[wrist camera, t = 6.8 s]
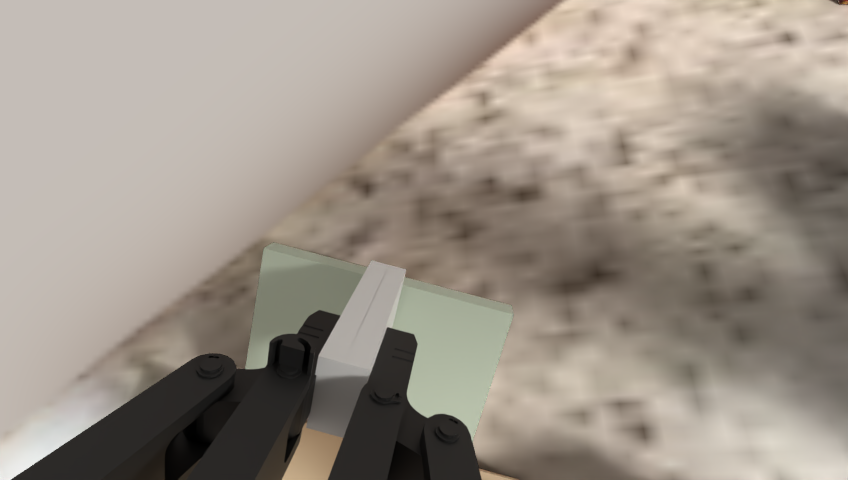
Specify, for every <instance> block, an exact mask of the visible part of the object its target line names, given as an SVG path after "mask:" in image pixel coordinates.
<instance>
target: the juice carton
mask: <svg viewBox="0 0 848 480" xmlns="http://www.w3.org/2000/svg"><path fill="white" fill-rule="evenodd" d="M838 2H839V4H840V5H848V0H838Z"/></svg>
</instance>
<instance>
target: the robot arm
mask: <svg viewBox="0 0 848 480" xmlns="http://www.w3.org/2000/svg"><path fill="white" fill-rule="evenodd" d="M405 273H406V269H403V268H399V267H396V266H392V265H388V264H384V263H380V262H377V261H373V260H371V262H370V264H369V266H368V267H367V269H366V271H365V273H364V275H363V276H362V278H361V280H360V282H359V284H358V285H357V287H356V289H355V291H354V293H353V294H352V296H351V298H350V300H349V302H348V303H347V305H346V307H345V309H344V311H343V312H342V314H341V316H340V315H337V314H333V313H329V312H325V311H322V310H318V311H316V312H315V313H313V314H311V315H309V316H308V318H307V319H306V321H305V322H304V324H303V326H301V328H300V329H299V331H298V333H297V334H282V335H280V336H277V337H275V338H274V339H272V340H271V341H270V343H269V352H268V361H267V365H266V367H265V368H260V369H236V365H235V363H234V361H233V360H232V359H231V358H229V357H228V356H225V355H222V354H205V355H200V356H198V357H196V358H194V359H192V360H190V361H189V362H187V363H186V364H184V365H183V366H181V367H180V368H178V369H177V370H175V371H174V372H172V373H171V374H169V375H168V376H166V377H165V378H163V379H162V380H160V381H159V382H157V383H156V384H154V385H153V386H151V387H150V388H148V389H147V390H145V391H144V392H142V393H141V394H139V395H138V396H136V397H135V398H133V399H132V400H130V401H129V402H127V403H126V404H124V405H123V406H121V407H120V408H118V409H117V410H115V411H114V412H112V413H111V414H109V415H108V416H106V417H105V418H103V419H101V420H100V421H98V422H97V423H95V424H94V425H92V426H91V427H89V428H88V429H86V430H85V431H83V432H82V433H80V434H79V435H77V436H76V437H74V438H73V439H71V440H70V441H68V442H67V443H65V444H64V445H62V446H61V447H59V448H58V449H56V450H55V451H53V452H52V453H50V454H49V455H47V456H46V457H44V458H43V459H41V460H40V461H38V462H37V463H35V464H34V465H32V466H31V467H29V468H28V469H26V470H25V471H23V472H22V473H20V474H19V475H17V476H16V477H14V478H13V479H11V480H282V478H283V476H284V474H285V472H286V470H287V468H288V466H289V464H290V462H291V459H292V457H293V455H294V453H295V451H296V449H297V447H298V445H299V443H300V439H301V434H302V428H303V426H304V424H305V422H306V420H307V418H308V420H307V426H306V428H309V429H312V430H316V431H320V432H323V433H327V434H331V435H334V436H338V437H342V438H343V440H342V443H341V445H340V448H339V451H338V453H337V456H336V459H335V461H334V464H333V467H332V469H331V472H330V475H329V477H328V480H482V479H481V475H480V471H479V467H478V463H477V459H476V455H475V451H474V447H473V443H472V439H471V435H470V432H469V430H468V428H467V426H466V425H465V424H464V423H463V422H462V421H461V420H459V419H457V418H456V417H454V416H451V415H447V414H435V415H433V416H431V417H429V418H427V417H425V416H423V415H421V414H420V413H419V412H417V411H416V410H415V409H414V408H413V407H412V406H411V405H410V403H409V401H408V398H407V389H408V385H409V380H410V376H411V372H412V367H413V363H414V359H415V354H416V350H417V345H418V343H417V341H416V338H415V335H414V334H411V333H408V332H404V331H400V330H397V329H393V328H392V326H393V323H394V319H395V315H396V310H397V306H398V302H399V298H400V294H401V290H402V286H403V281H404V277H405Z"/></svg>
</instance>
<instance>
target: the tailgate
mask: <svg viewBox="0 0 848 480" xmlns="http://www.w3.org/2000/svg"><path fill="white" fill-rule="evenodd" d="M366 269H367V267H365V266H361V265H357V264H354V263H350V262H346V261H342V260H338V259H335V258H331V257H327V256H323V255H320V254H316V253H312V252H308V251H304V250H301V249H297V248H293V247H289V246H286V245H282V244H278V243H274V242H273V243H271V244H270V245H268V246H267V247H265V248H264V250H263V256H262V263H261V269H260V276H259V282H258V289H257V295H256V302H255V308H254V315H253V321H252V328H251V334H250V341H249V347H248V354H247V360H246V367H245V369H260V368H265V367H266V365H267V361H268V352H269V343H270V341H271V340H272V339H274V338H275V337H277V336H280V335H282V334H297V333H298V331H299V329H300V328H301V326H303V324H304V322H305V321H306V319H307V318H308V316H309V315H311V314H313V313H315V312H316V311H318V310H322V311H325V312H329V313H333V314H337V315H340V316H341V314H342V312H343V311H344V309H345V307H346V305H347V303H348V302H349V300H350V298H351V296H352V294H353V293H354V291H355V289H356V287H357V285H358V284H359V282H360V280H361V278H362V276H363V275H364V273H365V271H366ZM513 315H514V313H513V309H512V305H509V304H505V303H501V302H497V301H493V300H490V299H486V298H482V297H478V296H475V295H471V294H467V293H463V292H459V291H456V290H452V289H448V288H444V287H441V286H437V285H433V284H429V283H425V282H422V281H418V280H414V279H410V278H407V277H404V281H403V286H402V290H401V294H400V298H399V302H398V306H397V310H396V315H395V319H394V323H393V326H392V328H393V329H397V330H400V331H404V332H408V333H411V334H414V335H415V338H416V341H417V343H418V345H417V350H416V354H415V359H414V363H413V367H412V372H411V376H410V380H409V385H408V389H407V398H408V401H409V403H410V405H411V406H412V407H413V408H414V409H415V410H416V411H417V412H419V413H420V414H421V415H423V416H425V417H427V418H429V417H431V416H433V415H435V414H447V415H451V416H454V417H456V418H457V419H459V420H461V421H462V422H463V423H464V424H465V425H466V426H467V428H468V430H469V432H470V435H471V439H472V442H473V439H474V436H475V433H476V429H477V426H478V423H479V420H480V417H481V414H482V411H483V408H484V405H485V402H486V399H487V396H488V392H489V389H490V386H491V383H492V380H493V377H494V374H495V371H496V368H497V365H498V362H499V359H500V355H501V352H502V349H503V346H504V343H505V340H506V337H507V334H508V331H509V328H510V325H511V322H512V318H513Z"/></svg>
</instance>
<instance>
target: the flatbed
mask: <svg viewBox="0 0 848 480" xmlns="http://www.w3.org/2000/svg"><path fill="white" fill-rule="evenodd" d="M306 426H307V421H306V422H305V424H304V426H303V428H302V434H301V439H300V443H299V445H298V447H297V449H296V451H295V453H294V455H293V457H292V459H291V462H290V464H289V466H288V468H287V470H286V472H285V474H284V476H283V478H282V480H328V477H329V475H330V472H331V469H332V467H333V464H334V461H335V459H336V456H337V453H338V451H339V448H340V445H341V443H342V440H343V438H342V437H338V436H334V435H331V434H327V433H323V432H320V431H316V430H312V429H309V428H306ZM479 471H480V475H481V479H482V480H519V479H515V478H512V477H508V476H505V475H501V474H497V473H494V472H490V471H486V470H483V469H479Z"/></svg>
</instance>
